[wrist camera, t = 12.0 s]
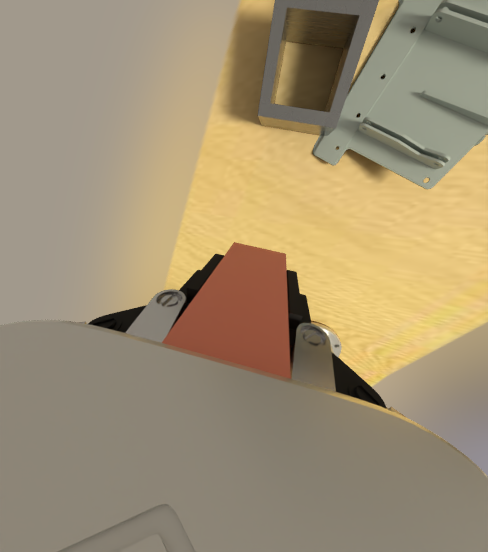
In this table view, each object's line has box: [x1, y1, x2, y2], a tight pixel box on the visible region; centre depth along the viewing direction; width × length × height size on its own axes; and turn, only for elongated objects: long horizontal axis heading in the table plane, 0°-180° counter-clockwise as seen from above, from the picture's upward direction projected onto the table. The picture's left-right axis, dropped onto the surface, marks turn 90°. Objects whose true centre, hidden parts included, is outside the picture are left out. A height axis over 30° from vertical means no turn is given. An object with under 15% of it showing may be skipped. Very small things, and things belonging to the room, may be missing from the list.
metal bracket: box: [313, 0, 488, 189], centre depth 17 cm, size 14×6×15 cm
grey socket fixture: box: [258, 0, 379, 136], centre depth 13 cm, size 16×25×6 cm, turn 81°
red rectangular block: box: [162, 242, 291, 379], centre depth 8 cm, size 4×4×10 cm
